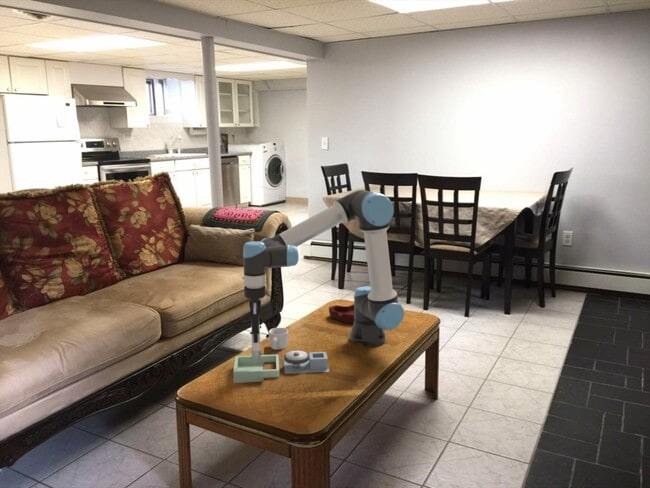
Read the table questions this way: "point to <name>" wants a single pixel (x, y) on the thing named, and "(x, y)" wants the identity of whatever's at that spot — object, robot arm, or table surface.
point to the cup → (278, 338)
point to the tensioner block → (305, 362)
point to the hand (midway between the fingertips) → (256, 348)
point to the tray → (254, 369)
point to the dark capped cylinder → (255, 353)
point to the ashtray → (342, 313)
